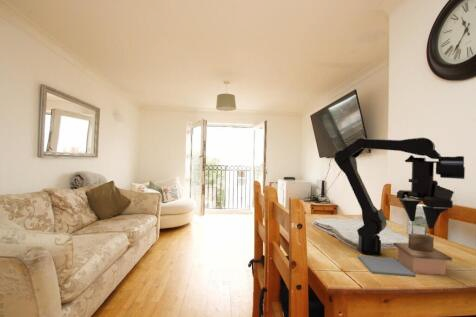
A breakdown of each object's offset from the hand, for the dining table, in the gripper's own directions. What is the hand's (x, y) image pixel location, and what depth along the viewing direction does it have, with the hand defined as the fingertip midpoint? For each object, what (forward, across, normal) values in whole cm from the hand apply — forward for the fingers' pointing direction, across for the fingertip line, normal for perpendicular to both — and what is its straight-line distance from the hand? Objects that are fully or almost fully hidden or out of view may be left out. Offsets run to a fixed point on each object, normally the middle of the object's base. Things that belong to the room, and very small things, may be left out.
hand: (421, 224), depth 82 cm
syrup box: (+13, +33, -19) cm, 41 cm away
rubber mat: (+13, -3, +13) cm, 18 cm away
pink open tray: (+13, -2, +1) cm, 14 cm away
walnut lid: (+8, -2, +1) cm, 9 cm away
